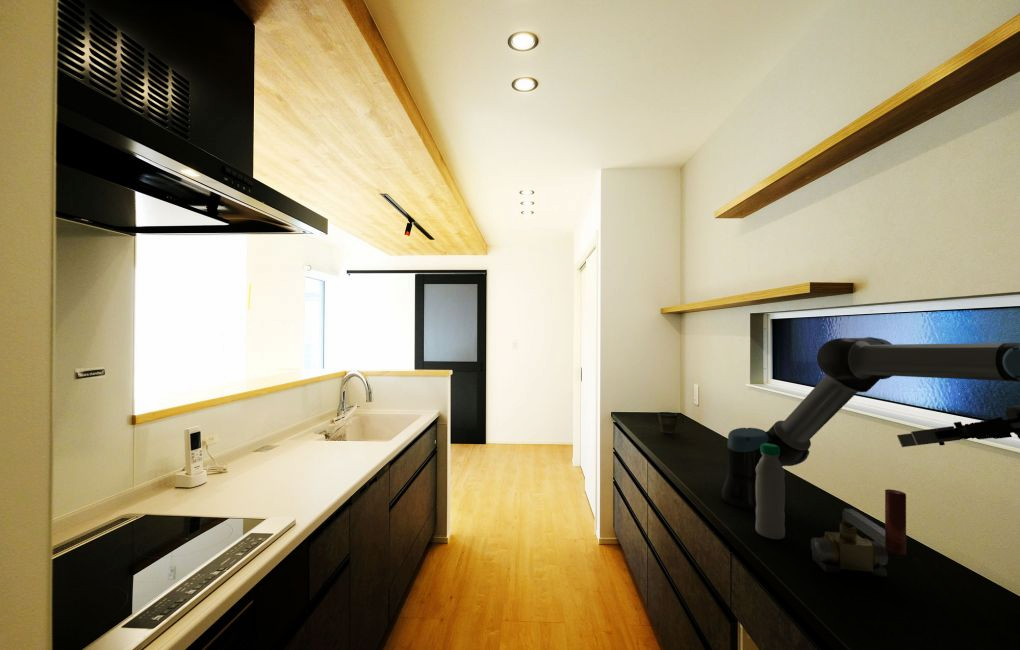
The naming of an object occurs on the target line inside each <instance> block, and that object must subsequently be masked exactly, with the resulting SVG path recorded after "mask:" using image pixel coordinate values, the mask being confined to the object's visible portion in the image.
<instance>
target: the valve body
mask: <svg viewBox="0 0 1020 650" xmlns="http://www.w3.org/2000/svg"><path fill="white" fill-rule="evenodd" d="M857 533H858V528H856V527H855V526H854V527H852V528H851V527H846V526H844V525H843V524H842V522H840V523H839V532H836V531H824V535H822V536H821V537H811V540H810V548H811V557H812V561H813V562H814V563H816V564H817V565H818V567H819V568H821V569H822V570H823V571H824V572H825V573H835V574H840V571H841V570H843V571H844V570H845V571H856V572H857V571H858V572H867V573H868V574H870V575H871V576H872V577H873V576H875V577H884V578H885V577H886V578H887V576H888V575H887V574H888V571H887V568H885V567H884V566H887V565H888V562H889V555H888V554H889V553H888V550H886V549H885V547H883V546H882V545H881V544H879V543H878V542H876V541H875V540H874V541H873V540H870V539H869V538H862V537H861V536H860V535H859V534H857Z"/></svg>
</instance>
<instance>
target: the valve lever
mask: <svg viewBox="0 0 1020 650" xmlns="http://www.w3.org/2000/svg"><path fill="white" fill-rule="evenodd" d="M884 502H885V503H884V510H885V512H884V528H883V527H882V526H880V525H878V524H877V523H875V522H873V521H872V520H870V519H869V518H867V517H866V516H864V515H863V514H861V513H859V512H858V511H856V510H855V509H853V508H843V511H842V513H841V515H842V521H841V523H842V524H843V525H844V526H846V527H851V528H852V527H854V526H855V527H856V528H857V530H859V531H861V532H862V533H863V534H864V535H867V536H868V537H869V538H871V539H872V541H873V540H874V541H876V542H878V543H879V544H881V545H882V546H883V547H885V549H886V551H887V552H890V553H893V554H894V555H895V554H896V555H901V556H902V555H903V556H904V555H907V494H906V493H905V492H903V491H900V490H896V489H889V488H887V489H885V490H884Z"/></svg>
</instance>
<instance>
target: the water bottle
mask: <svg viewBox="0 0 1020 650" xmlns="http://www.w3.org/2000/svg"><path fill="white" fill-rule="evenodd" d="M760 451H761V454H762V458H761V459H760V460H759V463H758V464H757V466H756V510H755V523H754V524H755V531H756V533H757V534H759V535H760V536H762V537H764V538H767V539H770V540H782V539H784V538H785V537H786V527H785V522H786V521H785V520H786V515H785V506H786V505H785V504H786V503H785V502H786V486H785V485H786V484H785V476H786V472H785V469H784V468H783V467H784V466H781V463H780V461H779V460H778V456H780V455H779V454H780V447H779V446H777V445H774V444H768V443H764V444H761V446H760Z"/></svg>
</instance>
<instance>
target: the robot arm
mask: <svg viewBox="0 0 1020 650" xmlns="http://www.w3.org/2000/svg"><path fill="white" fill-rule="evenodd" d="M816 362H817V366H818V367H819V369H820V371H822V372H823V374H825V375H824V376H823V378H822V379H821V380H820V381H819V382H818V383H817V384H816V385H815V387H814V388H813V389H812V390H811V391H810V392H809V393H808V394H807V395H806V396H805V398H804V399H803V400H802V401H801V402H800V403H799V404H798V406H796V407H795V409H794V410H793V411H792V412H790V414H789V415H788V416H787V417H786V418H785V420H777V421H776V422H775V423H774V424H773V425H772V426H771V427H770V428H769V429H768V430H767V431H765V430H763V429H760V428H757V427H738V428H735V429H732V430H731V431H729V433H728V436H727V441H726V446H727V476H726V479H725V481H724V483H723V487H722V488H721V489H722V490H721V497H722V500H723V501H725V502H726V503H728V504H730V505H733V507H737V508H740V509H745V510H751V511H756V466H757V464H758V463H759V460H760V459H761V458H762V454H761V451H760V446H761V444H764V443H768V444H774V445H777V446H779V447H780V454H779V455H780V456H778V460H779V461H780V463H781V466H782V467H792V466H797V465H800V464H801V463H803V462H805V461H806V460H807V459H808V457H809V454H810V450H809V449H810V447H811V445H812V443H811V439H812V438H814V436H815V435H816V434H818V432H819V431H820V430H821V429H822V428H823V427H824V426H825V425H826V424H827V423H829V421H830V420H831V419H832V418H833V417H834V416H835V415H836V414H837V413H839V411H840V410H841V409H842V408H843V407H844V406H845V405H847V403H848V402H849V401H850V400H851V399H852V398H853V397H854V396H855V395H856V394H858V393H867V392H870V390H871V389H872V388H873V387H874V386H875V385H876V384H877V383H878V382H879V381H880V380H887V379H890V378H892V377H911V378H912V377H913V378H928V379H929V378H934V379H952V380H953V379H957V380H975V381H976V380H977V381H978V380H979V381H1004V382H1018V383H1019V382H1020V342H982V343H981V342H980V343H979V342H974V343H973V342H970V343H967V342H966V343H964V342H962V343H916V344H915V343H913V344H911V343H910V344H909V343H908V344H907V343H906V344H903V343H900V344H899V343H897V344H896V343H895V344H893V343H891V341H888V340H886V339H883V338H879V337H873V336H868V337H839V338H833V339H830V340H828V341H827V342H825V343H824V344H823V345H821V347H820V348H819V349H818V352H817V354H816ZM1005 415H1006V418H1007V419H1003V417H1002V416H999V417H993V418H986V419H984V420H981V421H976V422H971V423H965V424H963V423H962V422H961V421H954V422H953V425H951V426H943V427H936V428H929V429H921V430H920V429H919V430H914V431H910V433H904V434H897V435H896V437H897V439H898V441H899V443H900V445H901V448H906V447H908V448H909V447H916V446H923V445H931V444H932V445H933V444H939V446H945V445H946V443H947V442H953V441H955V442H956V441H960V440H968V439H972V440H973V439H977V440H987V439H994V440H999V439H1006V438H1012V437H1013V436H1012V434H1015V436H1017V439H1019V440H1020V404H1018V405H1010V406H1009V407H1007V408H1006V410H1005Z"/></svg>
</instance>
